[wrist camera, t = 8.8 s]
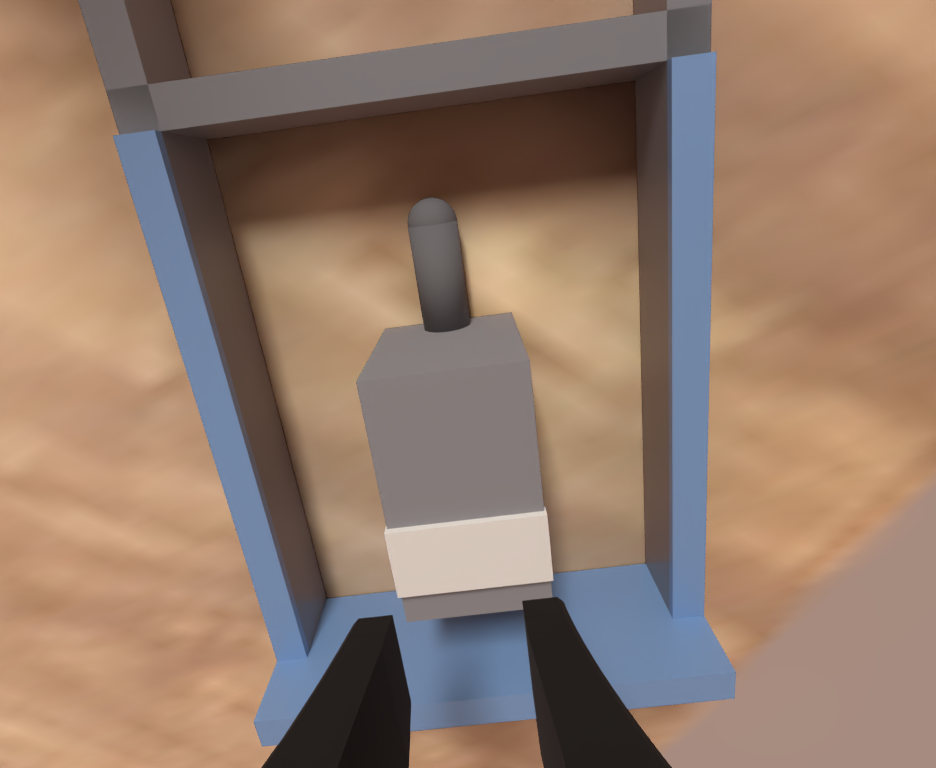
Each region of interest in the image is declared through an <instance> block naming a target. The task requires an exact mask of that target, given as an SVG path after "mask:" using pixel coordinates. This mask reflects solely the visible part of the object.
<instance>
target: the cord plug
mask: <svg viewBox="0 0 936 768" xmlns="http://www.w3.org/2000/svg"><path fill="white" fill-rule="evenodd" d="M408 230H409V236H410V243H411V249H412V255H413V261H414V268H415V274H416V280H417V286H418V292H419V299H420V305H421V311H422V317H423V323H424V324H419V325H411V326H403V327H396V328H388V329H385V330H384V332H383V334H382V336H381V337H380V339H379V341H378V343H377V345H376V347H375V348H374V350H373V352H372V354H371V356H370V357H369V359H368V361H367V363H366V365H365V367H364V368H363V370H362V372H361V374H360V376H359V378H358V379H357V381H356V384H357V389H358V393H359V398H360V403H361V408H362V412H363V417H364V422H365V427H366V431H367V436H368V441H369V445H370V450H371V455H372V460H373V464H374V469H375V474H376V479H377V483H378V488H379V493H380V498H381V502H382V507H383V512H384V517H385V521H386V528H385V533H384V536H385V540H386V545H387V550H388V554H389V559H390V564H391V568H392V573H393V578H394V582H395V587H396V592H397V596H398V598H402V602H403V607H404V611H405V616H406V621H407V622H414V621H423V620H432V619H441V618H450V617H460V616H469V615H478V614H487V613H496V612H505V611H514V610H523V604H522V601H524V600H533V599H542V598H552V587H551V581H553V570H552V560H551V549H550V538H549V528H548V517H547V512H546V508H545V506H544V504H543V494H542V483H541V473H540V462H539V452H538V442H537V431H536V421H535V411H534V400H533V390H532V380H531V369H530V360H529V357H528V355H527V352H526V349H525V347H524V344H523V341H522V339H521V336H520V333H519V331H518V328H517V326H516V323H515V320H514V318H513V315H512V312H511V313H504V314H496V315H488V316H480V317H473V318H470V315H469V308H468V300H467V293H466V285H465V277H464V270H463V262H462V255H461V247H460V239H459V232H458V224H457V218H456V214H455V212H454V210H453V209H452V207H451V206H450V205H449V204H448V203H447V202H445V201H444V200H441V199H439V198H434V197H432V198H425V199H422V200H420V201H419V202H417V203H416V204H415V205H414V206H413V208H412V209H411V211H410V213H409V216H408Z"/></svg>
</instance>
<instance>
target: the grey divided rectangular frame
mask: <svg viewBox="0 0 936 768" xmlns="http://www.w3.org/2000/svg"><path fill="white" fill-rule="evenodd" d="M633 1H634V15H631V16H624V17H617V18H610V19H603V20H596V21H589V22H582V23H574V24H567V25H560V26H553V27H546V28H539V29H532V30H525V31H518V32H511V33H504V34H497V35H490V36H483V37H476V38H469V39H462V40H455V41H448V42H441V43H434V44H427V45H420V46H413V47H406V48H399V49H392V50H385V51H378V52H371V53H364V54H357V55H350V56H343V57H336V58H329V59H322V60H315V61H308V62H301V63H294V64H287V65H280V66H273V67H266V68H259V69H252V70H245V71H238V72H231V73H224V74H217V75H210V76H203V77H196V78H191V77H190V73H189V70H188V66H187V62H186V58H185V54H184V51H183V47H182V43H181V39H180V35H179V31H178V28H177V24H176V20H175V16H174V12H173V8H172V5H171V1H170V0H78V2H79V5H80V8H81V12H82V15H83V18H84V21H85V24H86V28H87V31H88V34H89V37H90V41H91V44H92V47H93V50H94V54H95V57H96V60H97V63H98V66H99V70H100V73H101V76H102V79H103V83H104V86H105V89H106V92H107V96H108V99H109V102H110V105H111V109H112V112H113V115H114V118H115V121H116V125H117V128H118V131H119V134H120V135H115V136H113V138H114V141H115V145H116V148H117V151H118V154H119V157H120V160H121V164H122V167H123V170H124V173H125V176H126V180H127V183H128V186H129V189H130V192H131V196H132V199H133V202H134V205H135V208H136V212H137V215H138V218H139V221H140V224H141V228H142V231H143V234H144V237H145V240H146V244H147V247H148V250H149V253H150V256H151V259H152V263H153V266H154V269H155V272H156V275H157V279H158V282H159V285H160V288H161V291H162V295H163V298H164V301H165V304H166V307H167V311H168V314H169V317H170V320H171V323H172V327H173V330H174V333H175V336H176V339H177V343H178V346H179V349H180V352H181V355H182V359H183V362H184V365H185V368H186V371H187V374H188V378H189V381H190V384H191V387H192V390H193V394H194V397H195V400H196V403H197V406H198V410H199V413H200V416H201V419H202V422H203V426H204V429H205V432H206V435H207V438H208V442H209V445H210V448H211V451H212V454H213V458H214V461H215V464H216V467H217V470H218V473H219V477H220V480H221V483H222V486H223V489H224V493H225V496H226V499H227V502H228V505H229V509H230V512H231V515H232V518H233V521H234V525H235V528H236V531H237V534H238V537H239V541H240V544H241V547H242V550H243V553H244V557H245V560H246V563H247V566H248V569H249V572H250V576H251V579H252V582H253V585H254V588H255V592H256V595H257V598H258V601H259V604H260V608H261V611H262V614H263V617H264V620H265V624H266V627H267V630H268V633H269V636H270V640H271V643H272V646H273V649H274V652H275V656H276V659H277V663H276V666H275V669H274V671H273V674H272V676H271V679H270V681H269V684H268V686H267V689H266V692H265V694H264V697H263V699H262V702H261V704H260V707H259V709H258V712H257V715H256V717H255V720H254V725H255V728H256V730H257V733H258V736H259V739H260V742H261V745H262V746H272V745H278V744H279V742H280V741H281V740H282V738H283V737H284V735H285V734H286V732H287V731H288V729H289V728H290V726H291V725H292V723H293V722H294V720H295V718H296V717H297V715H298V714H299V712H300V711H301V709H302V708H303V706H304V705H305V703H306V702H307V700H308V699H309V697H310V695H311V694H312V692H313V691H314V689H315V688H316V686H317V684H318V683H319V681H320V680H321V678H322V676H323V675H324V673H325V671H326V670H327V668H328V667H329V665H330V663H331V662H332V660H333V658H334V657H335V655H336V653H337V652H338V650H339V648H340V646H341V645H342V643H343V641H344V640H345V638H346V636H347V634H348V633H349V631H350V629H351V628H352V626H353V624H354V623H355V622H356V621H357V620H358V619H359V618H368V617H377V616H386V615H393V619H394V624H395V628H396V633H397V638H398V642H399V647H400V652H401V656H402V661H403V666H404V670H405V675H406V680H407V684H408V689H409V694H410V698H411V724H410V731H420V730H429V729H439V728H449V727H459V726H469V725H479V724H489V723H498V722H508V721H518V720H528V719H536V713H535V706H534V698H533V691H532V682H531V674H530V665H529V656H528V647H527V639H526V630H525V621H524V613H523V610H514V611H505V612H496V613H487V614H478V615H469V616H460V617H450V618H441V619H432V620H423V621H414V622H407V621H406V616H405V611H404V607H403V602H402V598H398V596H397V592H396V591H391V592H382V593H373V594H364V595H355V596H346V597H336V598H326V594H325V590H324V586H323V582H322V579H321V575H320V571H319V567H318V563H317V559H316V556H315V552H314V548H313V544H312V540H311V537H310V533H309V529H308V525H307V521H306V517H305V514H304V510H303V506H302V502H301V498H300V494H299V491H298V487H297V483H296V479H295V475H294V471H293V468H292V464H291V460H290V456H289V452H288V449H287V445H286V441H285V437H284V433H283V429H282V426H281V422H280V418H279V414H278V410H277V406H276V403H275V399H274V395H273V391H272V387H271V383H270V380H269V376H268V372H267V368H266V364H265V360H264V357H263V353H262V349H261V345H260V341H259V338H258V334H257V330H256V326H255V322H254V318H253V315H252V311H251V307H250V303H249V299H248V295H247V292H246V288H245V284H244V280H243V276H242V272H241V269H240V265H239V261H238V257H237V253H236V250H235V246H234V242H233V238H232V234H231V230H230V227H229V223H228V219H227V215H226V211H225V207H224V204H223V200H222V196H221V192H220V188H219V184H218V181H217V177H216V173H215V169H214V165H213V161H212V158H211V154H210V150H209V146H208V142H207V140H209V139H216V138H223V137H230V136H238V135H245V134H252V133H259V132H267V131H274V130H281V129H288V128H295V127H303V126H310V125H317V124H324V123H331V122H339V121H346V120H353V119H360V118H367V117H375V116H382V115H389V114H396V113H403V112H411V111H418V110H425V109H432V108H439V107H447V106H454V105H461V104H468V103H476V102H483V101H490V100H497V99H504V98H512V97H519V96H526V95H533V94H540V93H548V92H555V91H562V90H569V89H576V88H584V87H591V86H598V85H605V84H612V83H620V82H627V81H634V80H635V94H636V140H637V187H638V233H639V280H640V326H641V373H642V419H643V466H644V512H645V559H646V563H645V564H636V565H627V566H618V567H609V568H600V569H591V570H582V571H573V572H563V573H554V574H553V581H551V587H552V597H558V598H559V599H561V600H562V601H563V602H564V603H565V606H566V608H567V611H568V613H569V615H570V617H571V619H572V621H573V623H574V625H575V627H576V629H577V630H578V632H579V634H580V636H581V638H582V639H583V641H584V643H585V645H586V646H587V648H588V650H589V651H590V653H591V655H592V656H593V658H594V660H595V661H596V663H597V664H598V666H599V668H600V669H601V671H602V672H603V674H604V675H605V677H606V678H607V680H608V681H609V683H610V684H611V686H612V687H613V689H614V690H615V692H616V693H617V695H618V696H619V697H620V699H621V700H622V702H623V703H624V705H625V706H626V708H627V709H636V708H646V707H656V706H666V705H675V704H685V703H695V702H705V701H715V700H725V699H734V698H735V680H736V672H735V670H734V668H733V666H732V665H731V663H730V661H729V659H728V657H727V656H726V654H725V652H724V650H723V649H722V647H721V645H720V643H719V642H718V640H717V638H716V636H715V634H714V633H713V631H712V629H711V627H710V626H709V624H708V622H707V620H706V619H705V617H704V591H705V546H706V500H707V455H708V409H709V364H710V318H711V273H712V227H713V182H714V136H715V91H716V52H711V13H712V0H633Z"/></svg>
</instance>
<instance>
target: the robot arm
mask: <svg viewBox="0 0 936 768" xmlns="http://www.w3.org/2000/svg"><path fill="white" fill-rule="evenodd" d="M522 604H523V613H524V621H525V630H526V639H527V647H528V656H529V665H530V674H531V682H532V691H533V698H534V706H535V713H536V721H537V728H538V735H539V743H540V750H541V756H542V761H543V765H544V768H672V767H671V766H670V765H669V764H668V762H667V761H666V760H665V759H664V757H663V756H662V755H661V753H660V752H659V751H658V749H657V748H656V747H655V746H654V744H653V743H652V742H651V740H650V739H649V738H648V736H647V735H646V734H645V732H644V731H643V730H642V728H641V727H640V726H639V724H638V723H637V722H636V720H635V719H634V717H633V716H632V715H631V713H630V712H629V711H628V709H627V708H626V706H625V705H624V703H623V702H622V700H621V699H620V697H619V696H618V695H617V693H616V692H615V690H614V689H613V687H612V686H611V684H610V683H609V681H608V680H607V678H606V677H605V675H604V674H603V672H602V671H601V669H600V668H599V666H598V664H597V663H596V661H595V660H594V658H593V656H592V655H591V653H590V651H589V650H588V648H587V646H586V645H585V643H584V641H583V639H582V638H581V636H580V634H579V632H578V630H577V629H576V627H575V625H574V623H573V621H572V619H571V617H570V615H569V613H568V611H567V608H566V606H565V603H564V602H563V601H562V600H561V599H559V598H558V597H552V598H542V599H533V600H524V601H522ZM410 724H411V698H410V694H409V689H408V684H407V680H406V675H405V670H404V666H403V661H402V656H401V652H400V647H399V642H398V638H397V633H396V628H395V624H394V619H393V615H386V616H377V617H368V618H359V619H358V620H357V621H356V622H355V623H354V624H353V626H352V628H351V629H350V631H349V633H348V634H347V636H346V638H345V640H344V641H343V643H342V645H341V646H340V648H339V650H338V652H337V653H336V655H335V657H334V658H333V660H332V662H331V663H330V665H329V667H328V668H327V670H326V671H325V673H324V675H323V676H322V678H321V680H320V681H319V683H318V684H317V686H316V688H315V689H314V691H313V692H312V694H311V695H310V697H309V699H308V700H307V702H306V703H305V705H304V706H303V708H302V709H301V711H300V712H299V714H298V715H297V717H296V718H295V720H294V722H293V723H292V725H291V726H290V728H289V729H288V731H287V732H286V734H285V735H284V737H283V738H282V740H281V741H280V742H279V744H278V745H277V747H276V748H275V749H274V751H273V752H272V754H271V755H270V756H269V758H268V759H267V761H266V762H265V763H264V765H263V766H262V768H409V749H410Z"/></svg>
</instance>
